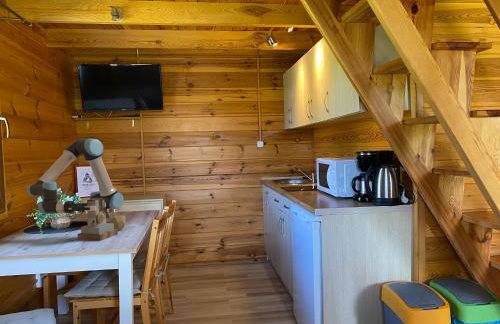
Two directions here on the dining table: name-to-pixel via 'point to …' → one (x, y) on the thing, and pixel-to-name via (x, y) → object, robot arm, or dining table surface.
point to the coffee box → (96, 212)
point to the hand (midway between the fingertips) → (100, 206)
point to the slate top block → (97, 229)
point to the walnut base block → (98, 237)
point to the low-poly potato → (117, 222)
